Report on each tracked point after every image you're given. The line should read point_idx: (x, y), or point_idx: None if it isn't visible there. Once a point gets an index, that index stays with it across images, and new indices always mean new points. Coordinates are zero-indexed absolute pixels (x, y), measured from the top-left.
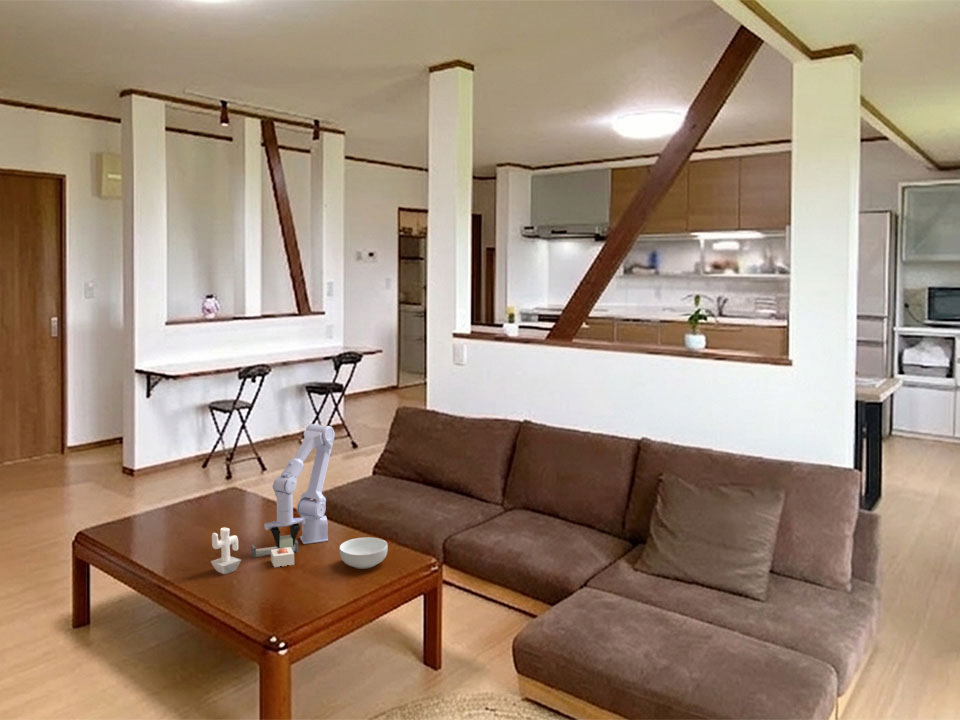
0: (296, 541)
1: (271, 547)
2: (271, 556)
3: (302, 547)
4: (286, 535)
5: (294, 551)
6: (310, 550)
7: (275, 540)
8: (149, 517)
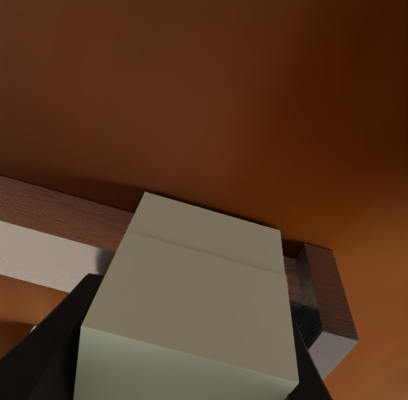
0: None
1: (39, 239)
2: None
3: (393, 262)
4: (228, 368)
5: None
6: (383, 345)
7: (44, 334)
8: None
